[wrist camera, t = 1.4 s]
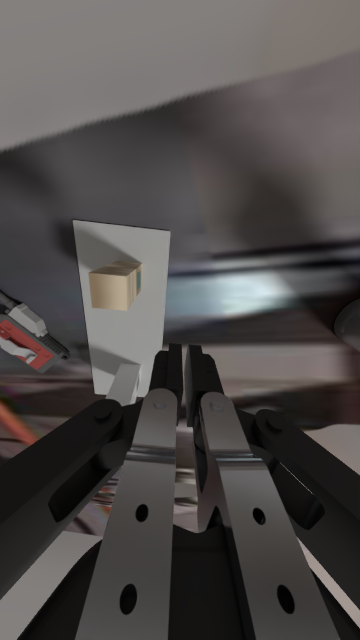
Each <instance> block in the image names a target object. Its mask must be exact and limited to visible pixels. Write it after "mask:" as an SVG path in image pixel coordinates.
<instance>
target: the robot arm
mask: <svg viewBox="0 0 360 640" xmlns="http://www.w3.org/2000/svg"><path fill="white" fill-rule="evenodd" d="M334 332H335V334H336V336H337V337H338V338H340V339H341V340H343V341H344V342H346V343H347V344H349V345H351V346H352V347H354V348H355V349H357V350H358V351H360V298H359V299H357V300H355V301H353V302H351V303H350V304H348V305H347V306H346V307H345V308H344V309H343V310H342V311H341V312H340V313H339V315H338V316H337V318H336V320H335V323H334ZM184 376H185V395H186V415H187V427H193V440H192V450H193V458H194V467H195V476H196V485H197V495H198V509H197V518H198V532H199V533H193V532H191V531H188V530H186V529H183V528H181V527H179V526H176V525H174V524H173V512H174V490H175V467H176V455H175V441H176V426H178V421H179V415H180V408H181V401H182V395H183V370H182V345H181V344H180V343H169V351H161V350H160V351H159V352H158V353H157V354H156V355H155V358H154V364H153V369H152V374H151V380H150V385H149V390H148V393H147V394H146V396H145V397H144V398H143V399H142V400H140V401H139V402H136V403H134V404H130V405H125V406H121V404H120V403H119V402H118V401H116V400H114V399H102V400H99V401H96V402H94V403H93V404H91V405H90V406H88V407H87V408H85V409H84V410H82V411H81V412H79V413H78V414H76V415H75V416H73V417H72V418H70V419H69V420H68V421H66V422H65V423H63V424H62V425H60V426H59V427H57V428H56V429H54V430H53V431H51V432H50V433H48V434H47V435H45V436H44V437H42V438H41V439H40V440H38V441H37V442H35V443H34V444H32V445H31V446H29V447H28V448H26V449H25V450H23V451H22V452H20V453H19V454H17V455H16V456H15V457H13V458H12V459H10V460H9V461H7V462H6V463H4V464H3V465H1V466H0V600H1V599H2V597H3V596H4V595H5V594H6V593H7V592H8V591H9V590H10V589H11V588H12V586H13V585H14V584H15V583H16V582H17V581H18V580H19V579H20V578H21V576H22V575H23V574H24V573H25V572H26V571H27V570H28V569H29V568H30V566H31V565H32V564H33V563H34V562H35V561H36V560H37V559H38V558H39V556H41V554H42V553H43V552H44V551H45V550H46V549H47V548H48V547H49V546H50V545H51V543H52V542H53V541H54V540H55V539H56V538H57V537H58V536H59V535H60V534H61V532H62V531H63V530H64V529H65V528H66V527H67V526H68V525H69V524H70V522H71V521H72V520H73V519H74V518H75V517H76V516H77V515H78V514H79V513H80V511H81V510H82V509H83V508H84V507H85V506H86V505H87V504H88V503H89V502H90V500H91V499H92V498H93V497H94V496H95V495H96V494H97V493H98V492H99V491H100V489H101V488H102V487H103V486H104V485H105V484H106V483H107V482H108V481H109V480H110V478H111V477H112V476H113V475H114V474H115V473H116V472H117V471H118V470H119V468H120V467H121V465H123V467H122V470H121V474H120V478H119V481H118V485H117V489H116V492H115V496H114V500H113V503H112V507H111V510H110V514H109V518H108V521H107V525H106V529H105V532H104V536H103V539H102V540H100V541H99V542H98V543H96V544H95V545H94V546H93V547H92V548H90V549H89V550H88V551H87V552H86V553H85V554H84V555H83V556H82V557H81V558H80V559H79V560H78V561H77V563H76V564H75V565H74V566H73V567H72V568H71V570H70V571H69V572H68V574H67V575H66V576H65V577H64V579H63V580H62V581H61V583H60V584H59V585H58V586H57V588H56V589H55V590H54V592H53V593H52V594H51V596H50V597H49V598H48V599H47V601H46V602H45V603H44V605H43V606H42V608H41V609H40V610H39V611H38V613H37V614H36V615H35V616H34V618H33V619H32V620H31V622H30V623H29V624H28V626H27V627H26V628H25V629H24V631H23V632H22V634H21V635H20V636H19V637H18V639H17V640H360V628H359V627H358V626H357V625H356V623H355V622H354V621H353V620H352V619H351V617H350V616H349V615H348V614H347V612H346V611H345V610H344V609H343V608H342V606H341V605H340V604H339V602H338V601H337V600H336V599H335V598H334V596H333V595H332V594H331V593H330V591H329V590H328V589H327V588H326V587H325V585H324V584H323V583H322V582H321V580H320V579H319V578H318V577H317V575H316V574H315V573H314V572H313V571H312V569H311V568H310V567H309V565H308V563H307V560H306V558H305V555H304V553H303V551H302V548H301V546H300V544H299V541H298V539H297V537H298V538H299V540H300V541H301V542H302V543H303V544H304V545H305V547H306V548H307V549H308V550H309V551H310V552H311V554H312V555H313V556H314V557H315V558H316V559H317V561H319V563H320V564H321V565H322V566H323V568H324V569H325V570H326V571H327V572H328V574H329V575H330V576H331V577H332V578H333V579H334V581H336V583H337V584H338V585H339V586H340V588H341V589H342V590H343V591H344V592H345V593H346V594H347V596H348V597H349V598H350V599H351V600H352V602H353V603H354V604H355V605H356V606H357V607H358V609H359V610H360V475H358V474H357V473H356V472H355V471H353V470H352V469H351V468H350V467H348V466H347V465H346V464H344V463H343V462H342V461H340V460H339V459H338V458H337V457H335V456H334V455H333V454H331V453H330V452H329V451H327V450H326V449H325V448H323V447H322V446H321V445H320V444H318V443H317V442H316V441H314V440H313V439H312V438H310V437H309V436H308V435H307V434H305V433H304V432H303V431H301V430H300V429H299V428H297V427H296V426H295V425H294V424H292V423H291V422H290V421H288V420H287V419H286V418H284V417H283V416H282V415H280V414H279V413H277V412H275V411H272V410H269V409H262V410H259V411H258V412H257V413H256V415H253V414H250V413H247V412H244V411H242V410H239V409H237V408H236V407H234V406H233V403H232V402H231V400H230V399H229V398H228V397H226V396H225V395H224V392H223V388H222V385H221V381H220V378H219V375H218V371H217V368H216V365H215V361H214V359H213V358H212V357H211V356H210V355H209V354H203V353H202V348H201V345H192V344H188V348H187V355H186V362H185V372H184ZM280 463H281V464H280ZM283 465H284V466H285V467H286V468H287V469H288V470H289V471H290V472H291V473H292V474H293V475H294V476H295V477H296V478H297V479H298V480H299V481H300V482H301V483H302V484H304V486H305V487H304V486H303V485H302V484H301V483H300V482H299V481H298V480H297V479H296V478H295V477H294V476H293V475H292V474H291V473H290V472H289V471H287V469H286V468H285V467H284V466H283ZM306 487H307V488H308V489H309V490H310V491H311V492H312V493H313V494H314V495H313V494H312V493H311V492H310V491H309V490H308V489H306Z"/></svg>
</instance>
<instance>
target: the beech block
mask: <svg viewBox="0 0 360 640" xmlns="http://www.w3.org/2000/svg"><path fill="white" fill-rule="evenodd" d="M142 265H143V264H142V263H133V262H123V261H115V262H113V263H110V264H108V265H106V266H103V267H101V268H98V269H96V270H94V271H91V272H89V273H88V275H89V284H90V294H91V303H92V308H100V309H111V310H122V311H127V310H128V309H129V307H130V306H131V304H132V303H133V301H134V300H135V298H136V297H137V295H138V294H139V292H140V291H141V289H142Z"/></svg>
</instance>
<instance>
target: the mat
mask: <svg viewBox="0 0 360 640" xmlns="http://www.w3.org/2000/svg"><path fill="white" fill-rule="evenodd" d="M73 226H74V234H75V242H76V250H77V257H78V265H79V273H80V281H81V289H82V296H83V304H84V312H85V320H86V327H87V335H88V343H89V351H90V359H91V366H92V374H93V382H94V390H95V394H108V392H109V390H110V387H111V385H112V383H113V380H114V378H115V376H116V374H117V371H118V369H119V367H120V365H121V363H124V364H138V365H141V380H140V384H139V388H138V392H137V396H138V397H145V396H146V394H147V393H148V390H149V385H150V380H151V374H152V369H153V364H154V358H155V355H156V354H157V353H158V352H159V351H160V350H161V351H162V340H163V326H164V313H165V299H166V286H167V272H168V258H169V245H170V231H163V230H155V229H146V228H137V227H129V226H120V225H112V224H103V223H94V222H86V221H77V220H73ZM115 261H123V262H133V263H142V264H143V265H142V289H141V291H140V292H139V294H138V295H137V297H136V298H135V300H134V301H133V303H132V304H131V306H130V307H129V309H128V310H127V311H122V310H111V309H100V308H92V303H91V294H90V284H89V275H88V273H89V272H91V271H94V270H96V269H98V268H101V267H103V266H106V265H108V264H110V263H113V262H115Z"/></svg>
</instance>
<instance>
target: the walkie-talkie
mask: <svg viewBox="0 0 360 640" xmlns="http://www.w3.org/2000/svg"><path fill="white" fill-rule="evenodd" d="M0 301H2V302H3V303H4V304H6V305H5V306H6V307H8V308H9V309H7V310H6V311H5V312H6V314H0V346H1V348H3V349H4V350H6V351H7V352H8V353H10V354H13V355H14V356H16V357H17V358H19V359H20V360H22V361H23V362H24V363H26V364H27V365H29V366H30V367H32V368H33V369H35V370H36V371H38V372H40V373H44V372H45V371H46V370H47V369H48V368H50V367H51V366H52V365H53V364H54V363H56V362H57V361H58V360H59V359H60V358H62V359H64V360H67V359H69V358H70V353H69V352H68V351H66V348H64V347H63V346H62V345H61V344H59V343H58V342H56V340H54V339H53V338H51V337H50V336H49V335H48V334H47V333H48V331H47V329H46V326H45V324H44V321H43V319H41V318H40V317H39V316H38V315H37V314H35V313H34V312H33V311H32V310H30V309H29V308H28V307H27V305H25V304H24V303H23V304H20V305H18V304H17V303H15V302H14V301H11V300H10V299H9V298H8V297H6V296H5V295H4V294H3V293H1V292H0ZM64 354H66V356H67V357H66V356H64Z"/></svg>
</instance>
